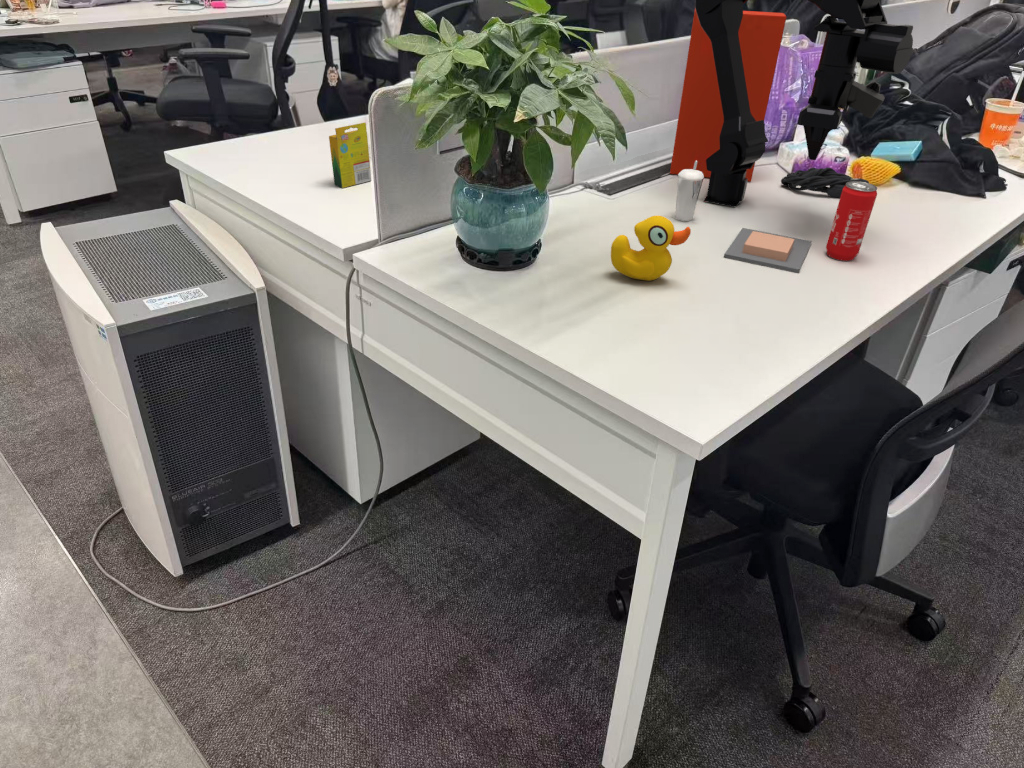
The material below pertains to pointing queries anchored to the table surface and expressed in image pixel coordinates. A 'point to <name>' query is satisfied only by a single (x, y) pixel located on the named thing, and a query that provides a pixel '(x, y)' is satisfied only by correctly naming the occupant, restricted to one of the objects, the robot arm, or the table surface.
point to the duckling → (647, 249)
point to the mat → (791, 263)
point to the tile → (768, 246)
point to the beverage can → (851, 220)
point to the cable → (819, 181)
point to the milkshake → (688, 193)
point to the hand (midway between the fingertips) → (812, 159)
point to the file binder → (702, 91)
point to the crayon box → (350, 156)
